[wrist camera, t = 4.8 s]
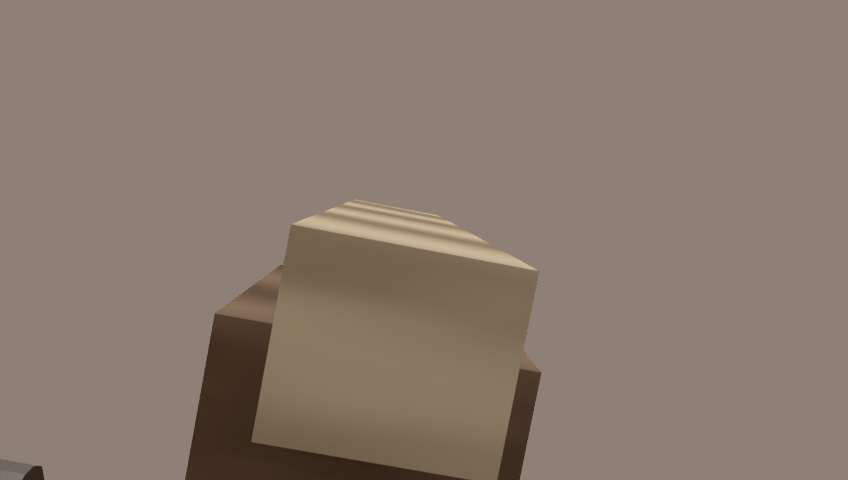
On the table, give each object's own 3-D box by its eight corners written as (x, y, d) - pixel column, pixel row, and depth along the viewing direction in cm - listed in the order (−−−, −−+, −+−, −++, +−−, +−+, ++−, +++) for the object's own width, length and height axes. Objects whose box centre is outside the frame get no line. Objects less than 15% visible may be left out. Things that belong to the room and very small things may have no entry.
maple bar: (496, 484, 11) (538, 270, 11) (251, 441, 11) (291, 224, 11) (424, 288, 33) (438, 215, 32) (341, 273, 32) (354, 199, 32)
